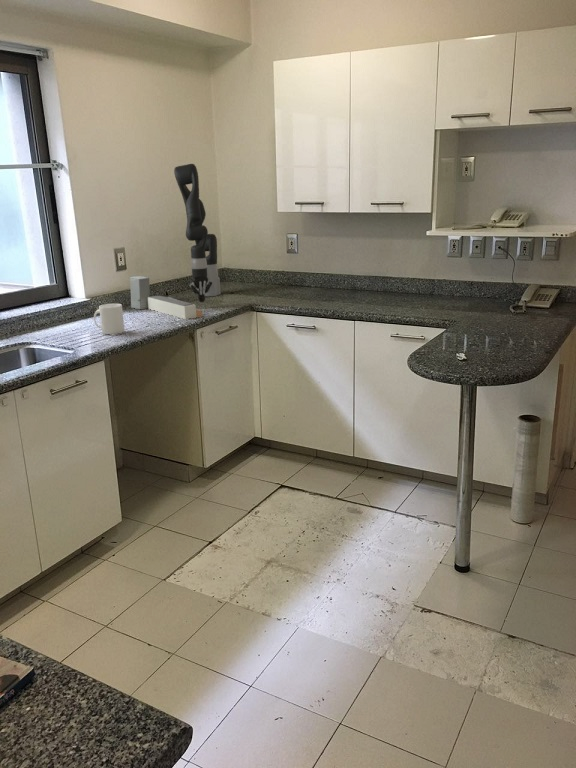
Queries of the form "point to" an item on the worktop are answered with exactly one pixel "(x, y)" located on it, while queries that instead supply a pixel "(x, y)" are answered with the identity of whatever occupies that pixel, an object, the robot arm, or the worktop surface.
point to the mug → (110, 318)
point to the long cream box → (173, 307)
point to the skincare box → (139, 292)
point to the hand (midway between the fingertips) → (201, 301)
